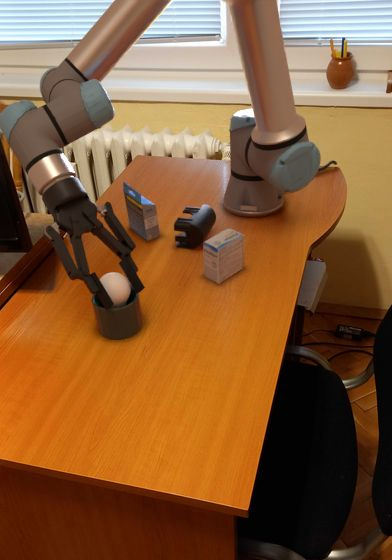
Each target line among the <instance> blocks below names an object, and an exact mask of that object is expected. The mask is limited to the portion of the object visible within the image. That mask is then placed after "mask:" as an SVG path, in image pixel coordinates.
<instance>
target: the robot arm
mask: <svg viewBox="0 0 392 560" xmlns="http://www.w3.org/2000/svg"><path fill="white" fill-rule="evenodd" d="M221 1H222V2H223V3H225V4H226V5H227V7H228V12H229V16H230V20H231V25H232V29H233V33H234V34H233V35H234V38H235V40H236V46H237V51H238V54H239V59H240V63H241V68H242V71H243V75H244V80H245V84H246V89H247V92H248V97H249V101H250V106H251V108H247V109H242V110H239V111H237V112H235V113H233V114H232V115H231V117H230V122H229V129H228V131H229V157H230V158H229V159H230V161H229V162H230V163H229V164H230V165H229V166H230V176H229V179H228V182H227V186H226V188H225V192H224V194H223V195H224V196H223V206H224V208H225V210H227V211H228V212H229V213H231V214H233V215H236V216H239V217H245V218H262V217H266V216H267V217H268V216H271V215H274V214H276V213H277V212H279V211H280V210H281V209H282V208H283V207H284V202H285V201H284V193H285V194H292V193H293V194H294V193H297V192H300V191H301V190H303V189H304V188H305V187H307V186H309V184H310V183H311V182H312V181H313V180H314V177H315V176H316V175H317V173H319V172H321V171H324V170H326V169H327V168H329V167H330V166H331V165H335V166H336V165H338V162H337V161H336V160H330V161H328V162H327V163H326V164H325V165H323V166H321V160H322V159H321V158H322V157H321V152H320V149H319V148H318V146H317V145H316V143H315V142H312V141H310V140H309V134H308V129H307V122H306V118H305V117H304V116H303V115H300V114H299V113H297V109H296V104H295V98H294V93H293V86H292V81H291V75H290V70H289V64H288V58H287V53H286V46H285V41H284V34H283V29H282V24H281V18H280V12H279V7H278V1H277V0H221ZM172 2H174V0H113V2H111V4H110V5H109V7H108V8H107V9H106V10H105V11H104V12H103V13H102V15H101V16H99V18H98V19H97V21H96V22H95V23H94V24H93V25H92V26H91V28H89V30H88V31H87V33H85V35H84V36H82V38H81V39H80V40H79V42H78V43H77V44H76V46H74V48H72V50H71V51H70V52H69V53H68V55H67V56H66V57H65V58H63V60H62V61H61V63H59V65H58V66H56V67H51V68H49V69H47V70H46V71H45V72H44V73H43V74H42V75H41V78H40V82H39V92H40V94H41V97H42V99H43V102H44V105H41V106H37V105H36V104H35V103H34V102H33V101H31V100H28V99H21V100H19V101H14V102H12V103H10V104H8V105H7V106H6V107H5V108H4V109H3V110H2V111H1V112H0V130H1V132H2V135H3V136H4V138H5V140H6V142H7V144H8V146H9V147H10V149H11V150H12V153H13V154H14V156H15V157H16V159H17V160H18V162H19V163H20V165H21V167H22V169H23V170H24V172H25V173H26V175H27V177H28V179H29V180H30V182H31V183H32V185H33V187H34V189H35V190H36V192H37V193H38V195H39V196H41V200H42V202H43V204H44V206H45V207H46V210H47V211H48V212H49V214H50V215H51V216H52V218H53V223H52V224H51V225H47V226H46V227H45V230H44V232H43V236H44V238H45V239H47V240H48V241H49V242H50V243H51V245H52V247H53V249H54V251H55V253H56V255H57V257H58V258H59V261H60V262H61V265H62V266H63V269H64V270H65V272H66V274H67V277H68V278H69V280H70V281H75V280H79V281H81V282H84V285H85V286H86V288H87V290H88V291H89V293H90V294H91V295H93V294H95V293H96V294H97V296H98V297H99V299H100V301H101V302H102V304H103V306H104V307H105V309H106V310H107V309H109V308H110V307H111V306H112V305H113V304H114V303H113V301H112V300H111V298H110V296H109V295H108V293H107V291H106V290H105V288H104V286H103V285H102V283H101V281H100V278H99V276H98V274H97V273H96V272H95V271H93V272H92V273H90V272H91V271H90V267H89V264H88V263H89V262H88V259H87V255H86V250H85V247H84V243H83V238H82V237H83V235H84V234H89V233H90V234H91V235H92V236H94V237H96V238H98V240H100V241H101V242H102V244H104V245H105V246H106V247H107V248H108V249H109V250H110V251H111V252H112V253H113V254H115V255H116V257H118V258H119V259H120V261H119V262H118V266H120V269H121V270H122V272H123V273H124V276H125V277H126V278H127V279H128V281H129V283H130V285H132V287H133V288H134V290H135V292H136V293H139V294H140V293H141V292H142V291H143V290H145V288H146V287H145V285H144V283H143V282H142V280H141V279H140V276H138V274H137V273H138V272H139V268H138V265H137V264H136V263H135V261H134V259H133V257H132V252H134V250H135V249H136V247H137V245H136V243H135V242H134V240H133V238H132V237H131V236H130V234H129V233H128V231H127V230H126V229H125V227H124V226H123V224H122V223H121V221H120V220H119V218H118V217H117V215H116V214H115V212H114V209H113V205H112V203H111V202H110V201H106V202H105V203H104V204H96V203H95V202H94V201H92V200H91V198H90V197H89V195H88V192H87V190H86V189H85V187H84V185H83V184H82V182H81V180H80V178H78V177H77V175H76V174H77V173H76V171H75V170H74V169H73V166H72V165H71V163H70V162H69V160H68V158H67V156H66V155H65V153H64V152H63V151H62V149H63V148H65V147H66V146H69V145H71V144H72V143H74V142H76V141H77V140H80V139H81V138H83V137H85V136H86V135H87V136H88V135H89V134H91V133H92V132H94V131H96V130H99V129H101V128H102V127H104V126H105V125H106V124H108V123H109V122H111V121H112V120H113V119H115V113H116V112H115V108H114V105H113V103H112V100H111V98H110V97H109V94H108V93H107V90H106V89H105V87H104V86H103V84H102V82H103V81H104V80H105V79H106V77H107V76H108V75H109V74H110V73H111V72H112V70H114V68H115V67H116V66H117V65H118V64H119V63H120V61H121V60H122V59H123V58H124V57H125V56H126V55H127V54H128V52H130V50H131V49H132V48H133V47H134V46H135V44H137V42H138V41H139V40H140V39H141V38H142V36H143V35H144V34H146V32H147V31H148V30H149V29H150V27H152V25H153V24H154V23H155V22H156V21H157V20H158V18H159V17H160V16H161V15H162V14H163V13H164V12H165V11H166V10H167V8H168V7H169V6H170V5H171V4H172ZM320 166H321V167H320ZM98 214H99V215H100V217H101V218H103V220H104V222H105V224H106V225H107V227H108V228H109V229H110V230H108V229H107V228H106V227H105V226H104V223H103V222H102V221H101V220H100V219H98ZM60 230H61V231H62V232H64V233H66V234H68V238H69V241H70V244H71V247H72V250H73V255H74V259H73V257H72V255H71V252H70V251H69V249H68V247H67V245H66V243H65V241H64V239H63V238H62V235H61V232H60ZM110 231H111V232H110ZM74 260H75V261H74Z"/></svg>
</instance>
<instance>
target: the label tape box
mask: <svg viewBox="0 0 392 560" xmlns="http://www.w3.org/2000/svg"><path fill="white" fill-rule="evenodd" d="M122 183H123V184H122V186H123V187H122V189H123V195H124V201H125V207H126V213H127V218H128V224H129V228H130V229H131V230H132V231H134V232H135V233H136V234H137V235H139V236H140V237H142V239H144V240H146V241H147V242H150V241H153V240H155V239H157V238H159V237H161V233H160V232H161V231H160V225H159V217H158V211H157V205H156V204H155V203H153V202H152V201H150V200H149V199H147V198H146V197H145V196H143V195H142V193H141V192H139V191H138V190H136V189H135V188H134V187H133V186H131V185H130V184H128V183H127V182H126V181H124V180H122Z"/></svg>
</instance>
